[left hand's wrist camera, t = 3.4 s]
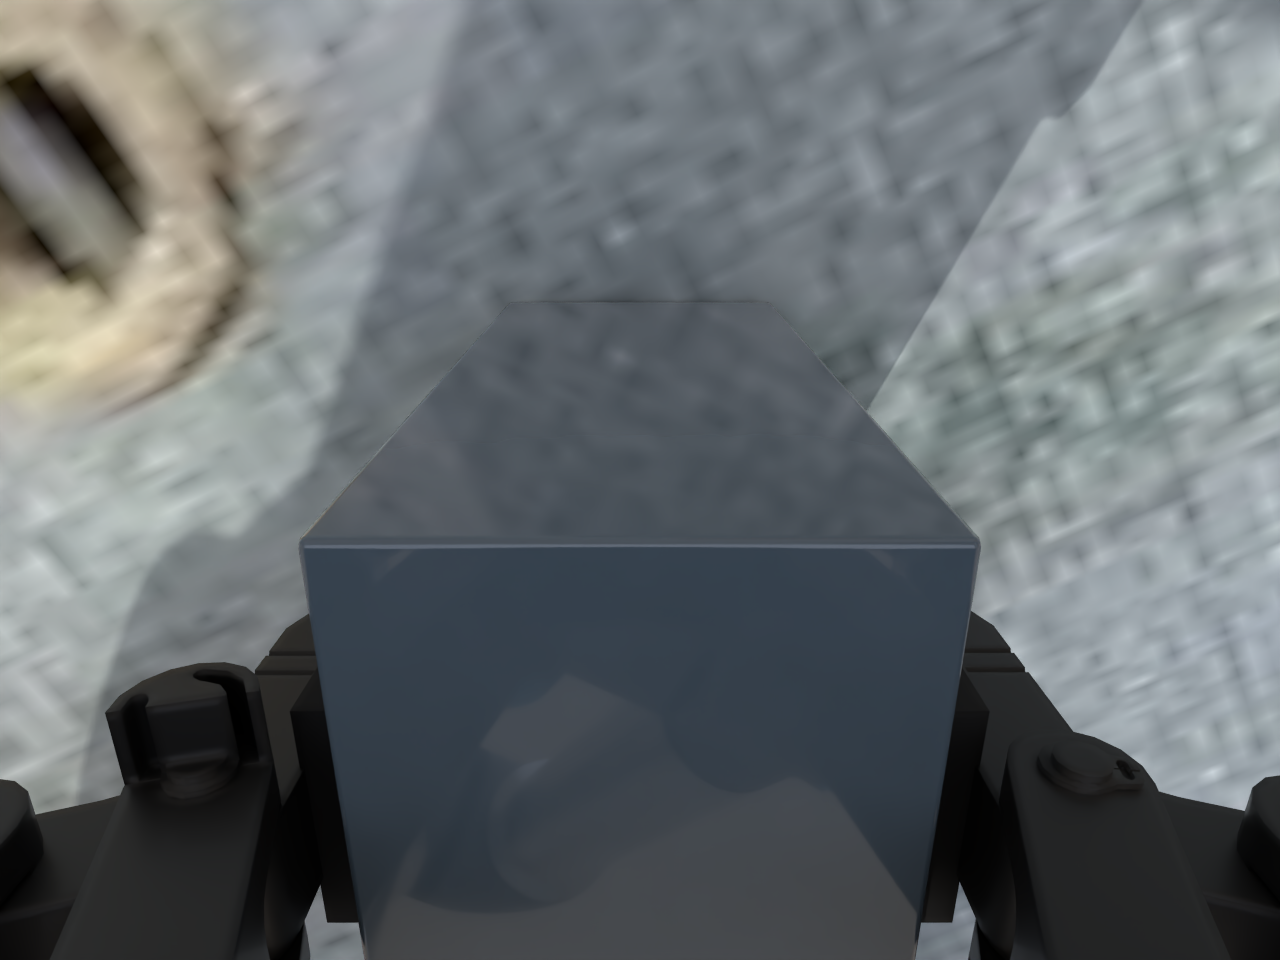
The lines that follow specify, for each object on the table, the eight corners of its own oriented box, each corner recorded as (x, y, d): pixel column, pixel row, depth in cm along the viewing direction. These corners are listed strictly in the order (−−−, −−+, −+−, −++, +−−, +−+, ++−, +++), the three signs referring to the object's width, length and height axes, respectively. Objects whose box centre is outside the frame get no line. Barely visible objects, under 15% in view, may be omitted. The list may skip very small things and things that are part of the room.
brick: (753, 618, 19) (886, 1159, 9) (526, 619, 19) (393, 1158, 9) (771, 301, 17) (987, 538, 6) (508, 301, 17) (293, 538, 6)
